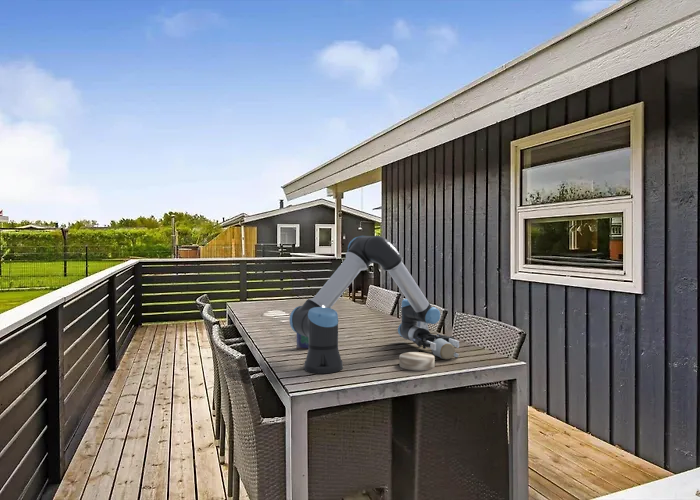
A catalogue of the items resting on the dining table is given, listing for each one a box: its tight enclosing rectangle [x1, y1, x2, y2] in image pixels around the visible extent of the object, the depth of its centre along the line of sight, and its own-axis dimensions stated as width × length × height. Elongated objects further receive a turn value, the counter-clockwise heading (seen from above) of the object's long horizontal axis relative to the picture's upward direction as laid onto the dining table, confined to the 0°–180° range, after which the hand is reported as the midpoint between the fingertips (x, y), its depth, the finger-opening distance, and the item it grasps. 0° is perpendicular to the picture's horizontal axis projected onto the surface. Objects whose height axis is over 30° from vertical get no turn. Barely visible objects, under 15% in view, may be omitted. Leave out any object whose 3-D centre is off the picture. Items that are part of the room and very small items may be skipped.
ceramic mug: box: [431, 338, 459, 361], centre depth 201 cm, size 11×8×8 cm
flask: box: [296, 333, 309, 350], centre depth 219 cm, size 9×3×11 cm, turn 79°
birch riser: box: [398, 351, 436, 371], centre depth 189 cm, size 14×14×4 cm
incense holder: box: [417, 321, 430, 332], centre depth 257 cm, size 10×8×10 cm
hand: (447, 345), depth 197 cm, fingers open, 11 cm apart
